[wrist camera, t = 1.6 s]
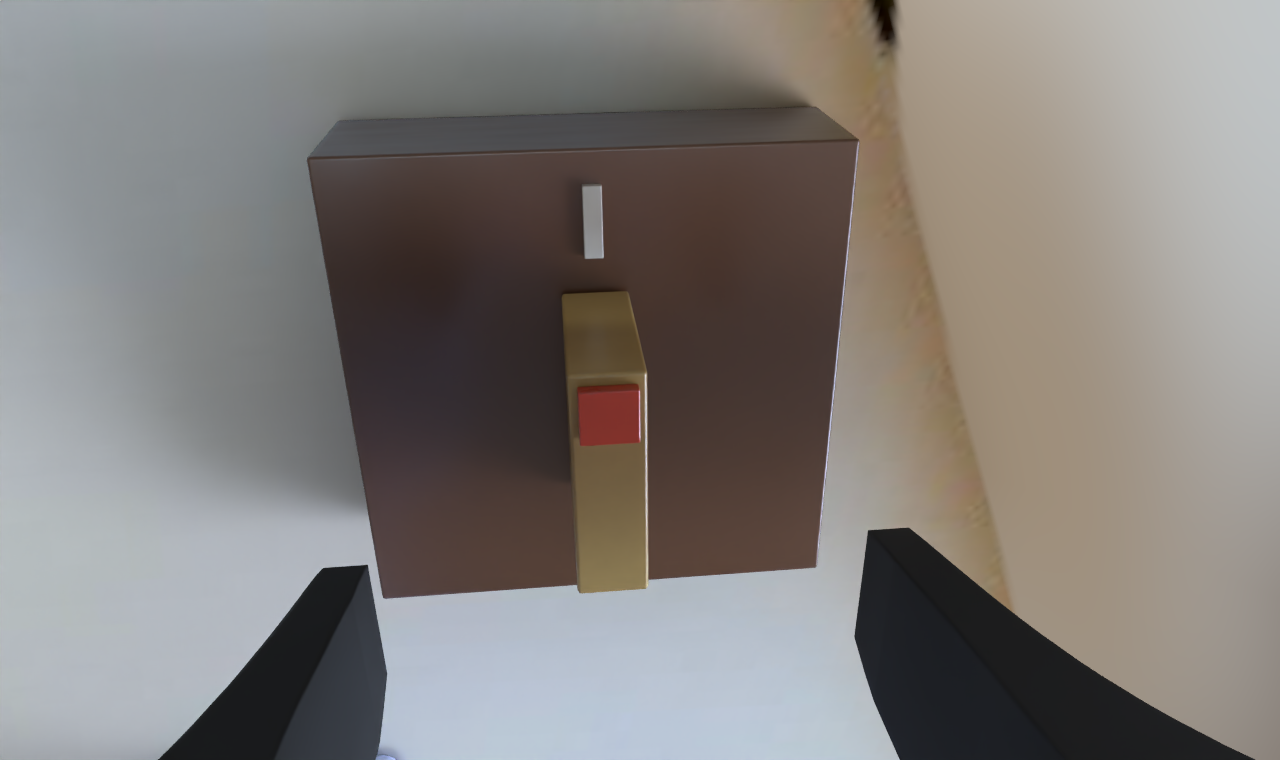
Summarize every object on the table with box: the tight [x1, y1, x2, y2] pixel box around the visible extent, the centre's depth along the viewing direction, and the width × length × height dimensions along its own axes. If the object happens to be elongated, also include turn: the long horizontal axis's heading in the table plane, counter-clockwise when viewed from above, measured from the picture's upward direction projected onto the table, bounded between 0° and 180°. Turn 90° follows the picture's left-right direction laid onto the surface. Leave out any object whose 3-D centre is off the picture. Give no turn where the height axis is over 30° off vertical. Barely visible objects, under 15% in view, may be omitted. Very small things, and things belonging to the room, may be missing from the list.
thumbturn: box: [562, 291, 648, 593], centre depth 18 cm, size 4×1×4 cm, turn 0°
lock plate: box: [307, 107, 859, 599], centre depth 20 cm, size 10×10×3 cm
